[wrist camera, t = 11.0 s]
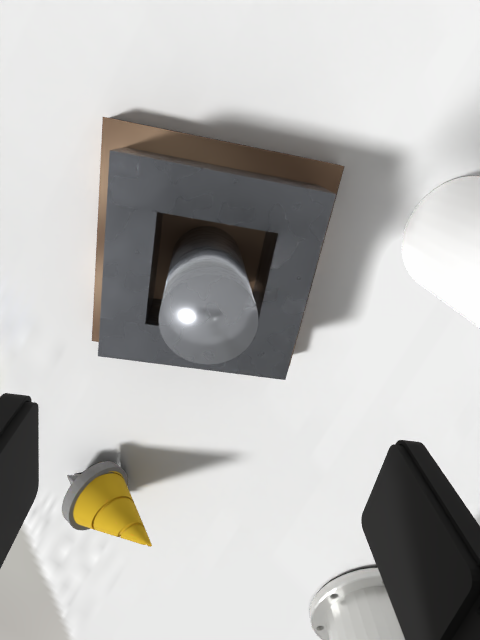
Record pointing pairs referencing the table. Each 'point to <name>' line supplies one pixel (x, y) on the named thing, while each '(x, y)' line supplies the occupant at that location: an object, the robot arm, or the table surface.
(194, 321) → the steel peg
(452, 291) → the mug
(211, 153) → the dock board
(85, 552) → the table surface
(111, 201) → the socket block
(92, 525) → the drill bit
